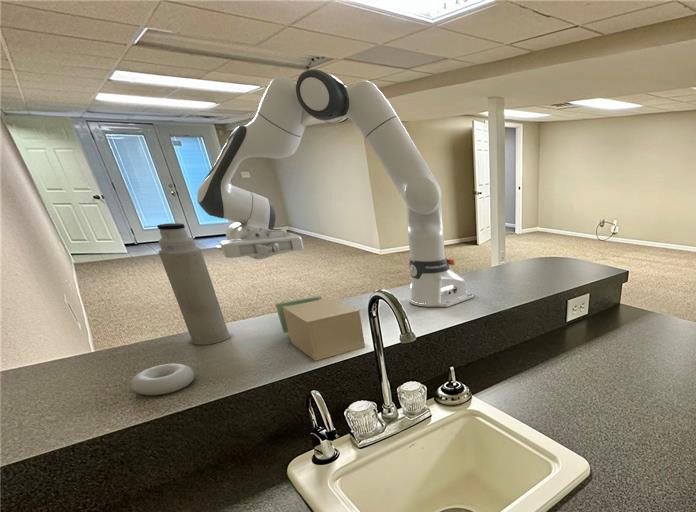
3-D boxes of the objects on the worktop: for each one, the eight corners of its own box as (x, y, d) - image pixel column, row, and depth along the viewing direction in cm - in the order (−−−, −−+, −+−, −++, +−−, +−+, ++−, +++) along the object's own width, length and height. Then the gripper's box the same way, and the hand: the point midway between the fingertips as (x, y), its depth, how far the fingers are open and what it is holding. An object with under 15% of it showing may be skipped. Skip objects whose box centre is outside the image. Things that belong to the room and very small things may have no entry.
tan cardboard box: (291, 343, 103) (282, 307, 99) (339, 331, 111) (332, 297, 107) (315, 360, 94) (306, 322, 90) (365, 346, 102) (359, 310, 98)
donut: (204, 385, 83) (187, 370, 89) (198, 371, 81) (182, 356, 87) (142, 404, 76) (129, 386, 82) (135, 388, 75) (122, 371, 80)
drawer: (276, 327, 110) (269, 299, 106) (318, 318, 117) (312, 292, 114) (302, 346, 99) (295, 316, 96) (347, 335, 107) (341, 306, 103)
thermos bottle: (208, 332, 108) (169, 221, 95) (236, 334, 108) (200, 222, 94) (184, 343, 101) (138, 225, 88) (214, 345, 101) (172, 226, 87)
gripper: (210, 234, 109) (224, 241, 100) (289, 228, 122) (308, 234, 113) (217, 258, 112) (232, 267, 103) (294, 250, 125) (313, 257, 116)
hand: (272, 249), depth 109 cm, fingers closed
